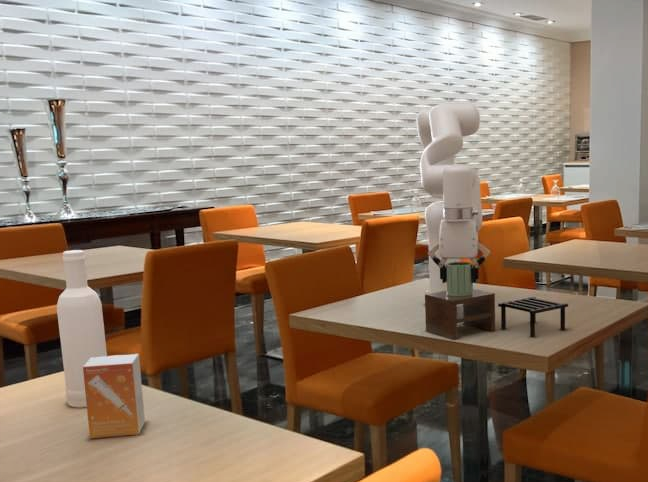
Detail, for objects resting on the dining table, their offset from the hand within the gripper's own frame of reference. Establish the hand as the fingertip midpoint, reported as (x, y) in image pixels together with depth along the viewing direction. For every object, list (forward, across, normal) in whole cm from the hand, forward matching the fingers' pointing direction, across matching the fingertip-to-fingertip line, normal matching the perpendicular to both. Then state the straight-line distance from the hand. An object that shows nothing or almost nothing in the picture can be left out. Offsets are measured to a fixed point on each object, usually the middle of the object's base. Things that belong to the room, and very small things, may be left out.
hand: (459, 281), depth 197 cm
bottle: (+14, +67, +60) cm, 91 cm away
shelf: (+13, 0, 0) cm, 13 cm away
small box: (+14, +52, +75) cm, 92 cm away
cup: (+3, 0, 0) cm, 3 cm away
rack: (+13, -19, -2) cm, 23 cm away
